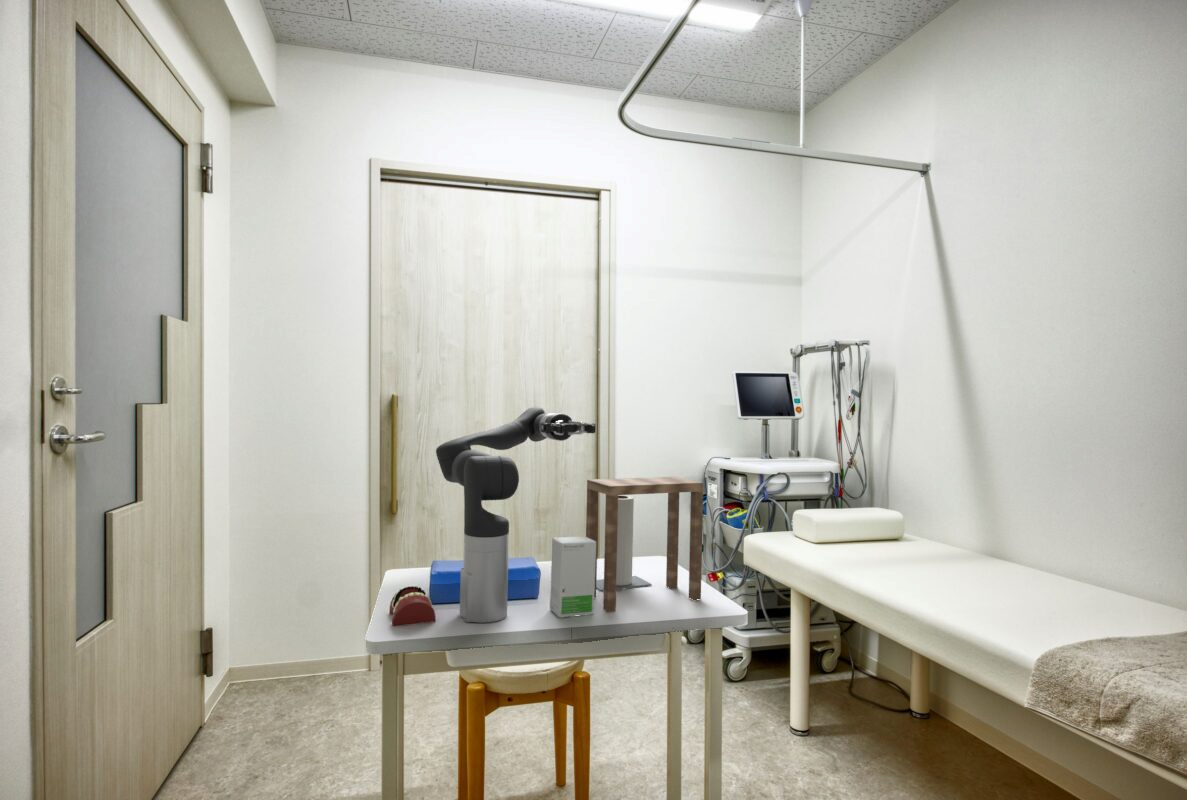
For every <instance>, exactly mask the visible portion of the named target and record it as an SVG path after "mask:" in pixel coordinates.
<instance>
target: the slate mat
mask: <svg viewBox="0 0 1187 800" xmlns="http://www.w3.org/2000/svg"><path fill="white" fill-rule="evenodd" d="M650 585H651V586H652V583H651V582H649V581H647V580H645V579H643V578H641V577H639V576H637V575H632V583H631V584H629V585H621V586H620V585H616V591H617V589H618V590H626V588H627V589H632V588H633V589H635V588H644V587H650ZM643 586H644V587H643ZM634 587H635V588H634ZM597 589H598V590H597ZM596 590H597V591H599V592H600V591H601V592H604V578H603V579H596Z"/></svg>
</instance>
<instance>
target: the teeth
mask: <svg viewBox="0 0 1187 800" xmlns="http://www.w3.org/2000/svg"><path fill="white" fill-rule="evenodd" d="M388 613H390V614H389V615H392V618H391V626H392V627H399V626H400V627H401V626H410V625H419V624H426V623H434V622H435V623H436V612H435V609H434V606H433V604H432V600H431V599H430V596H429V595H428V594H427V593H426V591H425V590H424V589H422V588H421V586H420V587H418V586H413V585H411V586H405V587H403V588H400V589H398V591H397V592H396V593H394V595H393V597H392V599H391V601H390V605H389V611H388Z"/></svg>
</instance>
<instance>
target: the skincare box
mask: <svg viewBox="0 0 1187 800" xmlns="http://www.w3.org/2000/svg"><path fill="white" fill-rule="evenodd" d="M551 540H552V541H551V544H552V545H551V546H552V547H551V569H550V570H551V571H550V597H549V609H550V611H551V612H552V613H553V614H555V616H557V617H558V618H569V617H568V616H571V617H576V616H575V615H582V616H586V615H585V614H593V615H594V614H595V598H594V592H595V561H596V541H594V540H591V539H589V538H587V537H586V536H565V537H564V536H563V537H562V536H560V537H559V536H558V537H556V536H555V537H552V538H551Z"/></svg>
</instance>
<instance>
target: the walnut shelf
mask: <svg viewBox="0 0 1187 800" xmlns="http://www.w3.org/2000/svg"><path fill="white" fill-rule="evenodd" d="M599 493H601V494H604V495H605V509H604V511H605V514H604V515H605V516H604V521H605V522H604V556H603V557H604V559H603V561H604V565H603V566H604V567H603V569H604V570H603V579H604V591H603V606H602V607H603V608H602V609H603V611H605V610H606V611H605V612H607V613H609V612H610V613H611V611H612V612H616V609H617V608H616V607H617V590H616V573H617V527H618V496H631V495H652V494H653V495H654V494H655V495H656V494H667V527H666V528H667V529H666V530H667V534H666V535H667V536H666V573H665V574H666V578H665V579H666V580H665V581H666V583H665V587H666V586H667V587H666V588H668V587H669V588H668V589H670V588H673V589H677V588H678V584H679V583H678V580H679V579H678V578H679V577H678V576H679V535H680V534H679V532H680V530H679V529H680V527H679V525H680V493H690V512H689V513H690V514H689V517H690V518H689V520H690V521H689V527H690V528H689V560H688V561H689V562H688V563H689V564H688V565H689V568H688V570H689V571H688V599H689V598H691V599H693V600H696V601H698V600H697V599H702V566H703V565H702V563H703V561H702V560H703V558H702V556H703V554H702V553H703V515H704V514H703V513H704V512H703V510H704V509H703V507H704V482H703V481H702V482H701V481H698V480H697V481H696V480H692V479H687V478H683V477H679V476H661V477H659V476H657V477H634V478H632V477H630V478H629V477H627V478H625V477H624V478H604V479H603V478H597V479H595V478H594V479H586V512H585V513H586V518H585V537H587V538H589V539H591V540H594V541H596V561H595V592H594V597H596V598H597V589H596V580H598V579H597V578H598V577H597V573H598V572H597V571H598V570H597V569H598V567H597V566H598V565H597V564H598V526H599V525H598V524H599ZM676 587H677V588H676ZM691 599H690V600H691ZM693 600H692V601H693Z"/></svg>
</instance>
